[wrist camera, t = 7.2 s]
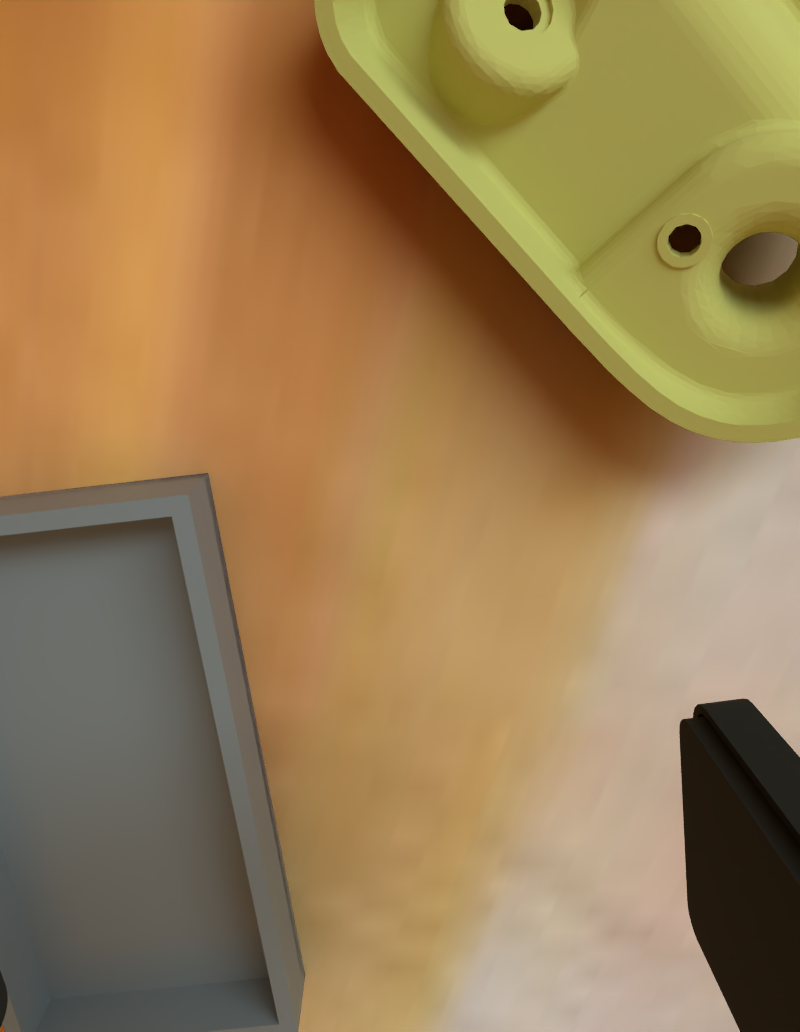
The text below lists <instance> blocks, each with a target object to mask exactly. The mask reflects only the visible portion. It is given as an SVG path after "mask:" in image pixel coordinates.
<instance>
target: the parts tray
mask: <svg viewBox="0 0 800 1032" xmlns="http://www.w3.org/2000/svg"><path fill="white" fill-rule="evenodd" d="M0 971H1V974H2V976H3V979H4V982H5V985H6V988H7V996H8V1002H7V1010H6V1014H5V1017H4V1020H3V1022H2V1026H3V1028H4V1031H5V1032H298V1029H299V1021H300V1013H301V1004H302V996H303V988H304V979H305V972H304V967H303V962H302V956H301V951H300V946H299V941H298V936H297V931H296V925H295V920H294V915H293V910H292V905H291V899H290V894H289V889H288V884H287V879H286V874H285V868H284V863H283V858H282V853H281V848H280V843H279V837H278V832H277V827H276V822H275V817H274V812H273V806H272V801H271V796H270V791H269V786H268V781H267V775H266V770H265V765H264V760H263V755H262V750H261V744H260V739H259V734H258V729H257V724H256V719H255V713H254V708H253V703H252V698H251V693H250V687H249V682H248V677H247V672H246V667H245V662H244V656H243V651H242V646H241V641H240V636H239V631H238V625H237V620H236V615H235V610H234V605H233V600H232V594H231V589H230V584H229V579H228V574H227V569H226V563H225V558H224V553H223V548H222V543H221V538H220V532H219V527H218V522H217V517H216V512H215V507H214V501H213V496H212V491H211V486H210V481H209V475H208V473H205V474H196V475H187V476H179V477H170V478H161V479H152V480H144V481H135V482H126V483H117V484H109V485H100V486H91V487H82V488H74V489H65V490H56V491H48V492H39V493H30V494H21V495H13V496H4V497H0Z"/></svg>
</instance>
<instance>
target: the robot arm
mask: <svg viewBox="0 0 800 1032" xmlns="http://www.w3.org/2000/svg"><path fill="white" fill-rule="evenodd" d="M680 752H681V773H682V794H683V816H684V837H685V858H686V879H687V901H688V910H689V915H690V919H691V923H692V927H693V930H694V933H695V935H696V938H697V940H698V943H699V945H700V947H701V949H702V951H703V953H704V955H705V957H706V960H707V962H708V964H709V966H710V968H711V970H712V972H713V974H714V977H715V979H716V981H717V983H718V985H719V987H720V989H721V991H722V994H723V996H724V998H725V1000H726V1002H727V1004H728V1006H729V1008H730V1011H731V1013H732V1015H733V1017H734V1019H735V1021H736V1023H737V1026H738V1028H739V1030H740V1032H800V757H799V756H798V755H797V754H796V753H795V752H794V750H793V749H792V748H791V747H790V746H789V745H788V744H787V742H786V741H785V740H784V739H783V738H782V737H781V736H780V734H779V733H778V732H777V731H776V730H775V729H774V727H773V726H772V725H771V724H770V723H769V722H768V721H767V719H766V718H765V717H764V716H763V715H762V714H761V713H760V711H759V710H758V709H757V708H756V707H755V706H754V705H753V703H751V702H750V701H749V700H748V699H736V700H729V701H721V702H714V703H706V704H698V705H697V706H696V707H695V709H694V713H693V718H690V719H683V720H682V721H681V723H680ZM7 1002H8V996H7V988H6V985H5V982H4V979H3V976H2V974H1V971H0V1027H1V1025H2V1022H3V1020H4V1017H5V1014H6V1010H7Z"/></svg>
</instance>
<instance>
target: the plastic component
mask: <svg viewBox="0 0 800 1032" xmlns="http://www.w3.org/2000/svg"><path fill="white" fill-rule="evenodd" d="M314 4H315V16H316V20H317V25H318V29H319V34H320V37H321V39H322V42H323V45H324V47H325V50H326V52H327V54H328V56H329V57H330V59H331V61H332V62H333V64H334V66H335V67H336V69H337V71H338V72H339V73H340V74H341V75H342V77H343V78H344V79H345V80H346V81H347V82H348V83H349V84H350V85H351V87H352V88H353V89H354V90H355V91H356V92H357V93H358V94H359V95H360V97H361V98H362V99H363V100H364V101H365V102H366V103H367V104H368V106H369V107H370V108H371V109H372V110H373V111H374V112H375V113H376V114H377V116H378V117H379V118H380V119H381V120H382V121H383V122H384V123H385V124H386V126H387V127H388V128H389V129H390V130H391V131H392V132H393V133H394V135H395V136H396V137H397V138H398V139H399V140H400V141H401V142H402V143H403V145H404V146H405V147H406V148H407V149H408V150H409V151H410V152H411V153H412V155H413V156H414V157H415V158H416V159H417V160H418V161H419V162H420V164H421V165H422V166H423V167H424V168H425V169H426V170H427V171H428V172H429V174H430V175H431V176H432V177H433V178H434V179H435V180H436V181H437V182H438V184H439V185H440V186H441V187H442V188H443V189H444V190H445V191H446V193H447V194H448V195H449V196H450V197H451V198H452V199H453V200H454V201H455V203H456V204H457V205H458V206H459V207H460V208H461V209H462V210H463V212H464V213H465V214H466V215H467V216H468V217H469V218H470V219H471V220H472V222H473V223H474V224H475V225H476V226H477V227H478V228H479V229H480V230H481V232H482V233H483V234H484V235H485V236H486V237H487V238H488V239H489V241H490V242H491V243H492V244H493V245H494V246H495V247H496V248H497V249H498V251H499V252H500V253H501V254H502V255H503V256H504V257H505V258H506V259H507V261H508V262H509V263H510V264H511V265H512V266H513V267H514V268H515V270H516V271H517V272H518V273H519V274H520V275H521V276H522V277H523V278H524V280H525V281H526V282H527V283H528V284H529V285H530V286H531V287H532V288H533V290H534V291H535V292H536V293H537V294H538V295H539V296H540V297H541V299H542V300H543V301H544V302H545V303H546V304H547V305H548V306H549V307H550V309H551V310H552V311H553V312H554V313H555V314H556V315H557V316H558V317H559V319H560V320H561V321H562V322H563V323H564V324H565V325H566V326H567V328H568V329H569V330H570V331H571V332H572V333H573V334H574V335H575V336H576V337H577V338H578V339H579V341H580V342H581V343H582V344H583V345H584V346H585V347H586V348H587V349H588V350H589V351H590V352H591V353H592V354H593V355H594V356H595V357H596V359H597V360H598V361H599V362H600V363H601V364H602V365H603V366H604V367H605V368H606V369H607V370H608V371H609V372H610V373H611V374H612V375H613V376H614V377H615V378H616V379H617V380H618V381H619V382H620V383H621V384H622V385H624V386H625V387H626V388H627V389H628V390H629V391H630V392H631V393H632V394H634V395H635V396H636V397H637V398H638V399H640V400H641V401H642V402H643V403H645V404H646V405H647V406H648V407H649V408H651V409H652V410H654V411H655V412H657V413H658V414H660V415H661V416H663V417H665V418H666V419H668V420H669V421H671V422H673V423H675V424H677V425H679V426H681V427H683V428H685V429H687V430H690V431H692V432H695V433H698V434H701V435H704V436H707V437H710V438H716V439H721V440H727V441H732V442H752V443H759V442H774V441H781V440H787V439H793V438H799V437H800V0H314ZM508 4H517V5H520V6H522V7H523V8H525V9H526V10H528V12H529V14H530V16H531V18H532V20H533V29H532V30H525V31H521V30H519V29H517V28H516V27H514V26H512V25H511V24H510V23H509V21H508V20H507V18H506V16H505V13H504V7H505V6H506V5H508ZM685 224H689V225H692V226H695V227H697V229H698V230H699V231H700V233H701V241H700V244H699V245H698V246H697V247H695V248H694V249H693V250H692V251H690V252H682V253H680V252H678V251H676V250H674V249H672V247H671V245H670V243H669V241H668V238H669V235H670V234H671V232H672V231H673V230H674V229H675V228H676V227H678V226H682V225H685ZM762 232H778V233H782V234H786V235H788V236H790V237H792V238H793V239H795V240H796V241H797V242H798V247H797V255H796V258H795V259H794V261H793V262H792V264H791V265H790V267H789V268H788V270H787V271H786V272H785V273H783V274H782V275H781V276H779V277H778V278H777V279H775V280H774V281H772V282H768V283H764V284H761V285H757V286H751V285H743V284H740V283H738V282H736V281H734V280H731V279H730V277H729V276H728V275H727V274H726V273H725V272H724V271H723V269H722V266H721V265H722V262H723V260H724V259H725V257H726V255H727V254H728V252H729V251H730V250H731V249H732V248H733V247H734V246H735V245H736V244H738V243H739V242H740V241H742V240H743V239H745V238H747V237H749V236H751V235H754V234H758V233H762Z"/></svg>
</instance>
